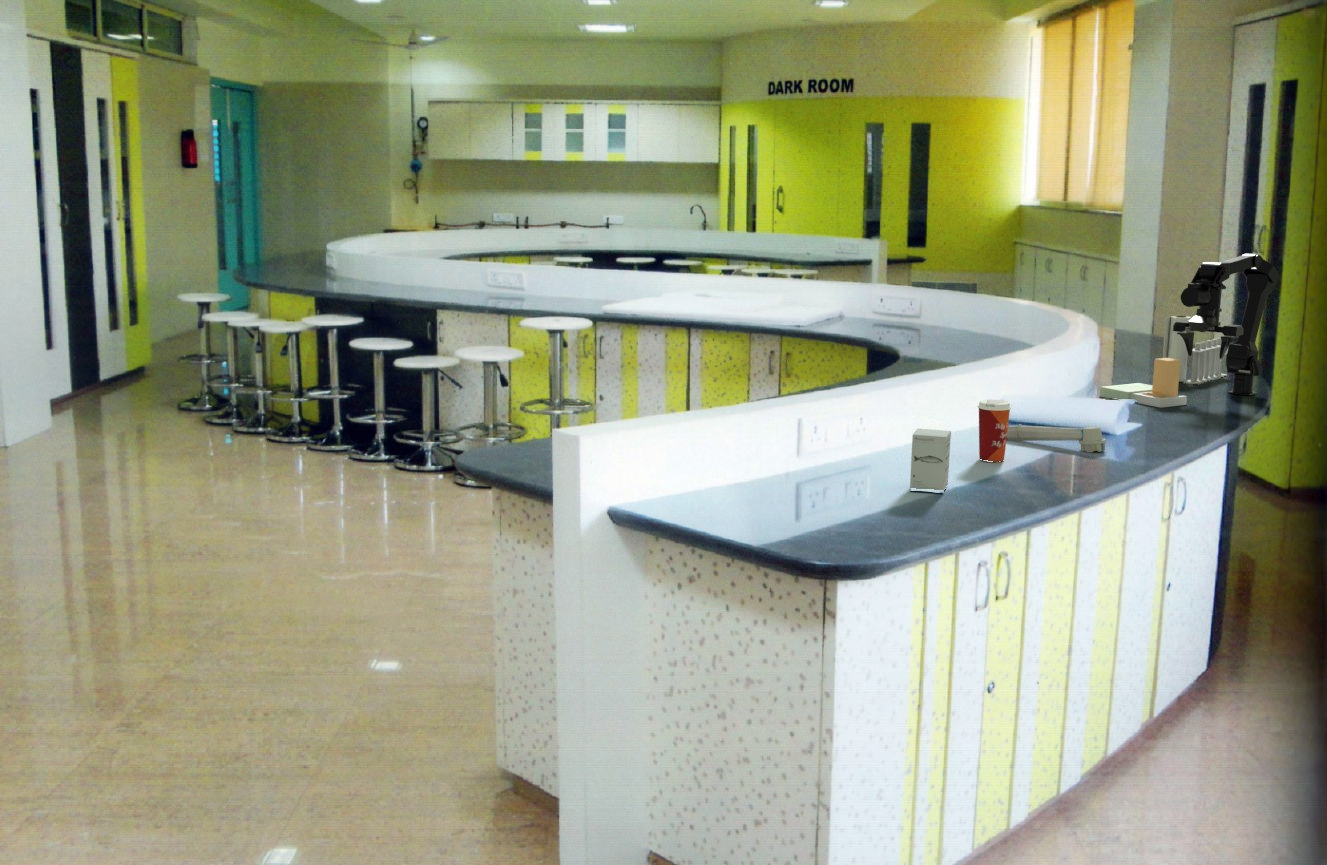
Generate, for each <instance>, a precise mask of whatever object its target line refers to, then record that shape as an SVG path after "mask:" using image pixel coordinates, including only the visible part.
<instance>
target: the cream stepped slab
mask: <svg viewBox="0 0 1327 865" xmlns="http://www.w3.org/2000/svg"><path fill="white" fill-rule="evenodd" d="M1152 387H1153V384H1146V383H1142V382H1135V383H1126V384H1114V385H1105V386H1104V385H1103V386H1100V387H1099V397H1101V398H1106V399H1110V398H1117V399H1135V400H1138V403H1137V404H1141V405H1145V406H1152V407H1155V408H1159V409H1160V408H1161V409H1162V408H1169V407H1176V406H1177V407H1178V406H1185V405H1187V400H1188V399H1187V398H1188V396H1187V395H1178V396H1174V397H1165V398H1158V397H1153V396H1148V395H1147V393H1148V392H1152Z"/></svg>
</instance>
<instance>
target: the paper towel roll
mask: <svg viewBox="0 0 1327 865" xmlns="http://www.w3.org/2000/svg"><path fill="white" fill-rule="evenodd" d="M1191 318H1192V317H1191V316H1186V315H1174V316H1173V315H1172V316H1171V315H1170V316H1165V322H1164V323H1165V324H1164V333H1163V334H1164V335H1163V350H1162V358H1172V359H1178V360H1180V372H1179V382H1180V383H1181V382H1182V383H1183V382H1184V381H1187V369H1188V357H1189V355H1188V352H1187V349H1186V345H1185V342H1184V340H1183V338H1182V337H1181V335H1179V334H1177V331H1173V325H1174V323H1175V322H1178V321H1189V320H1190V319H1191Z"/></svg>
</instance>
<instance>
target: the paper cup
mask: <svg viewBox="0 0 1327 865" xmlns="http://www.w3.org/2000/svg"><path fill="white" fill-rule="evenodd" d="M977 408H978V448H979V449H978V452H979V453H978V454H979V460H980V459H982V460H988V461H993V462H999V461H1003V460H1004V461H1005V454H1006V447H1007V440H1006V439H1007V430H1008V426H1009V422H1010V414H1011V412H1010V411H1011V410H1012V406H1011V404H1010V401H1008V400H1001V399H982V400H980V401H979V403H978V405H977ZM1004 461H1003V462H1004ZM999 463H1000V462H999Z"/></svg>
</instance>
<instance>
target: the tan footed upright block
mask: <svg viewBox="0 0 1327 865" xmlns="http://www.w3.org/2000/svg"><path fill="white" fill-rule="evenodd" d="M1179 372H1180V360H1178V359H1172V358H1163V357H1161V358H1160V357H1159V358H1154V364H1153V378H1152V385H1153V387H1152V392H1148V393H1147V395H1148V396H1153V397H1158V398H1165V397H1174V396H1179V395H1178V394H1179Z"/></svg>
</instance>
